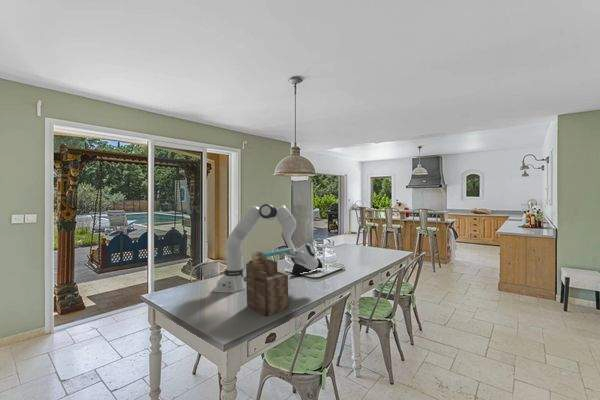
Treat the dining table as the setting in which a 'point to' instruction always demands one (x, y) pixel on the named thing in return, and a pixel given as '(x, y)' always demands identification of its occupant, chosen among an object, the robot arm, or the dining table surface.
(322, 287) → the dining table surface
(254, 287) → the rack
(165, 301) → the dining table surface
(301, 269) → the magazine
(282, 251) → the slat
